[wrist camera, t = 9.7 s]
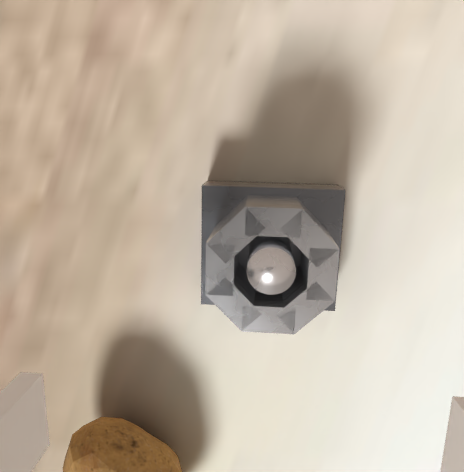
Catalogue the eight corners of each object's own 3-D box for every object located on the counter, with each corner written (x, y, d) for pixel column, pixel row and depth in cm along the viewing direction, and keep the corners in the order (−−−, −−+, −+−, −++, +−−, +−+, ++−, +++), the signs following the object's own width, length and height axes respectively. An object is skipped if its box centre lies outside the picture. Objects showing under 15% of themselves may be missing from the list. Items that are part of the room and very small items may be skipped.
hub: (214, 299, 31) (205, 329, 27) (215, 193, 30) (206, 205, 25) (321, 304, 31) (332, 336, 26) (329, 197, 29) (342, 210, 24)
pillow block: (206, 289, 35) (189, 334, 27) (207, 180, 32) (189, 195, 25) (328, 295, 34) (347, 343, 26) (338, 185, 32) (361, 201, 24)
